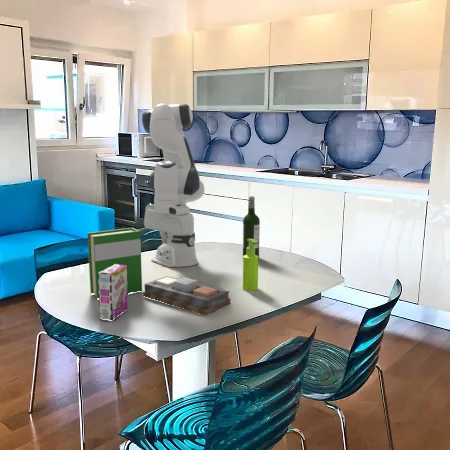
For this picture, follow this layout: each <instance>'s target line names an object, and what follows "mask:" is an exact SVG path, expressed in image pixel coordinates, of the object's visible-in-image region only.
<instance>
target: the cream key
mask: <svg viewBox="0 0 450 450" xmlns="http://www.w3.org/2000/svg"><path fill="white" fill-rule="evenodd" d="M169 277H170V276H169ZM169 277H166V278H163V279H160V278H159V279H160V280H157V279H156V280H157V281H156V285H160V286H164V287H167V288H168V287H171V286H174V281H176V280H177V279H178V278H177V279H173V278H174V277H173V278H169Z"/></svg>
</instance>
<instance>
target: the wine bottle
mask: <svg viewBox="0 0 450 450" xmlns="http://www.w3.org/2000/svg"><path fill="white" fill-rule="evenodd" d="M255 204H256V203H255V196H252V195H251V196H248V209H247V210H248V212H247V214H246V215H245V216H244V217H243V219H242V257H243V256H244V255H246V249H247V247H248V246H249V241H247V239H255V240H256V241H258V243H253V247H255V255H257V256H258V260H259V259H260V229H261V228H260V223H261V221H260V218H259V217H258V215H257V214H256V211H255V210H256V207H255Z"/></svg>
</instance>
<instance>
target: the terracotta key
mask: <svg viewBox="0 0 450 450" xmlns="http://www.w3.org/2000/svg"><path fill="white" fill-rule="evenodd" d="M206 286H207V285H205V286H203V287H200V288H198V289H195V290H193V294H194V295H198V296H202V297H205V298H208V297H210V296H212V295H215V294H217V289H218V288H217V289H214V288H215V287H213V288H210V287H211V286H209V287H206Z"/></svg>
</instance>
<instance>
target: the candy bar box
mask: <svg viewBox="0 0 450 450" xmlns="http://www.w3.org/2000/svg"><path fill="white" fill-rule="evenodd" d="M98 282H99V301H98V303H99V310H98V311H99V319H100V318H102V319H109V320H113V319H114V318H116V317H117V316H118V315H120V314H121V313H122V312H124V311H125V310H126V309H128V310H129V302H128V301H129V299H128V297H129V295H128V293H127V265H119V264H114V265H112V266H110V267H109V268H107V269H105V270H103V271H100V272H98ZM120 316H121V315H120ZM116 319H117V318H116Z"/></svg>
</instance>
